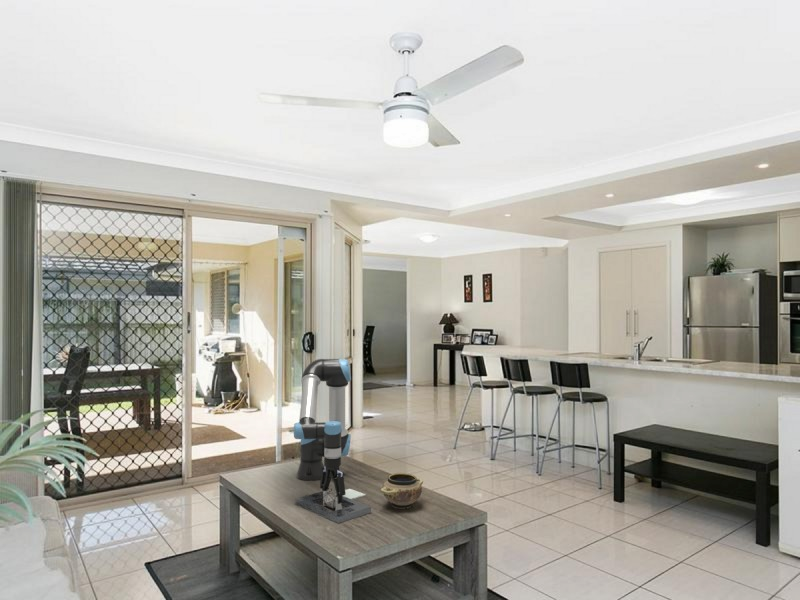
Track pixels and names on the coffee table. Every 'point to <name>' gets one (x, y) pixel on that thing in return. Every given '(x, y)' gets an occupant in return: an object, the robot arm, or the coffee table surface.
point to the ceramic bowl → (402, 489)
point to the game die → (330, 499)
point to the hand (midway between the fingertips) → (332, 507)
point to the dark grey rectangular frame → (337, 516)
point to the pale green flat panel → (353, 494)
